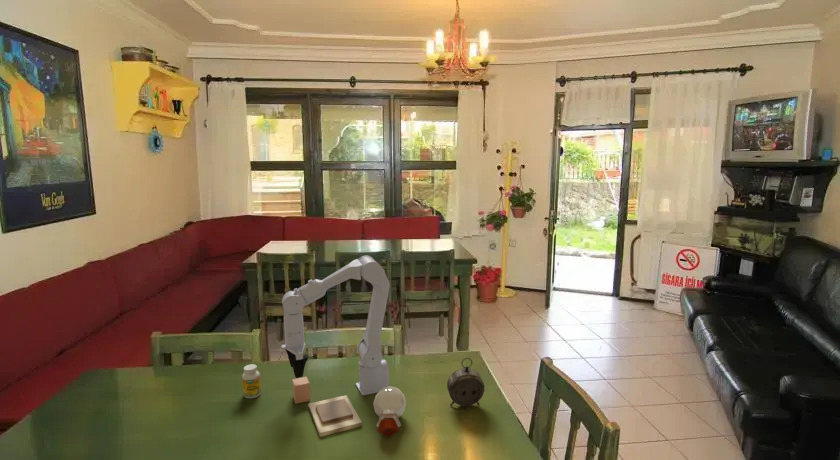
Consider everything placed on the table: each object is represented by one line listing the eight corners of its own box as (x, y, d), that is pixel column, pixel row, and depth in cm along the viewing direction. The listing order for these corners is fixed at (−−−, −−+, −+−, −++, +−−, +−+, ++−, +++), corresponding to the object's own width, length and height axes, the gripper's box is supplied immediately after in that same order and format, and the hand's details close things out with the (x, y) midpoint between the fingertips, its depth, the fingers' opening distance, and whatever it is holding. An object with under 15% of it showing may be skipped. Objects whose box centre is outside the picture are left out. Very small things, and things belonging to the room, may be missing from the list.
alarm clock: (481, 401, 146) (482, 353, 143) (485, 411, 141) (486, 361, 138) (446, 403, 145) (447, 354, 142) (449, 413, 140) (450, 363, 137)
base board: (346, 398, 148) (346, 392, 147) (361, 426, 133) (361, 419, 133) (308, 407, 143) (308, 400, 142) (320, 436, 128) (319, 429, 128)
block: (307, 393, 151) (306, 376, 150) (310, 400, 147) (309, 383, 146) (293, 396, 149) (292, 379, 148) (295, 403, 145) (294, 386, 144)
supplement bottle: (258, 388, 154) (256, 361, 152) (263, 395, 149) (261, 368, 147) (241, 393, 151) (239, 365, 149) (245, 400, 146) (243, 372, 145)
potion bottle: (394, 410, 143) (393, 447, 129) (368, 395, 141) (364, 430, 127) (412, 389, 141) (412, 424, 127) (385, 374, 139) (383, 407, 125)
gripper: (277, 324, 147) (279, 364, 150) (284, 342, 134) (287, 385, 137) (299, 320, 150) (302, 359, 153) (309, 337, 137) (311, 380, 140)
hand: (296, 371), depth 145 cm, fingers open, 7 cm apart
